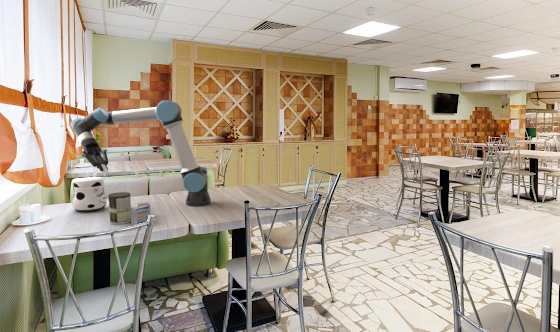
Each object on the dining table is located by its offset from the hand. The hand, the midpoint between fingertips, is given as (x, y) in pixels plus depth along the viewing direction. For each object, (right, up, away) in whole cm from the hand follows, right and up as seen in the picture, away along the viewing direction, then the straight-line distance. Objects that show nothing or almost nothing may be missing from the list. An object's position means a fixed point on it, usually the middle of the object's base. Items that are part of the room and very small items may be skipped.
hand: (107, 175), depth 180 cm
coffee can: (+8, -24, -3) cm, 25 cm away
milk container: (-20, -21, +21) cm, 36 cm away
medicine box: (+21, -24, -7) cm, 33 cm away
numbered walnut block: (+17, -23, +6) cm, 29 cm away
